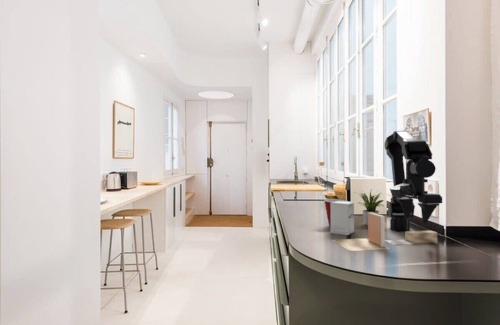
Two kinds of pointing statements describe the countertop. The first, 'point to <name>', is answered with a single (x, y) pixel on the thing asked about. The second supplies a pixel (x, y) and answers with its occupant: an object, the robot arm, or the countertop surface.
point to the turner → (416, 238)
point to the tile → (376, 229)
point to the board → (359, 244)
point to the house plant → (370, 205)
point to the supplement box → (342, 217)
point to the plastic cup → (328, 208)
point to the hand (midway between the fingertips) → (415, 220)
